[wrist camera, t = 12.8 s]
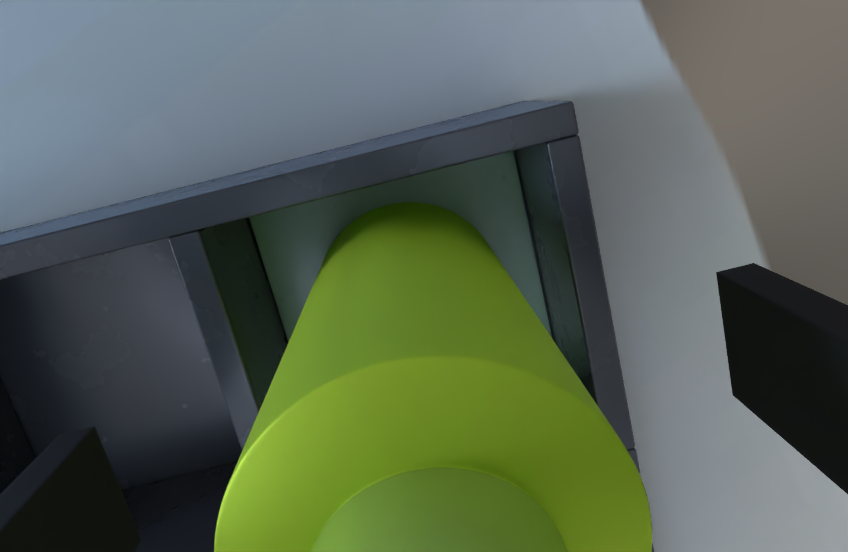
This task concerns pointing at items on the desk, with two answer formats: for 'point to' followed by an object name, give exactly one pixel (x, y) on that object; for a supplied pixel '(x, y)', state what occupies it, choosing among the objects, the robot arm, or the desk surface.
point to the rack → (269, 298)
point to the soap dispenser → (427, 413)
